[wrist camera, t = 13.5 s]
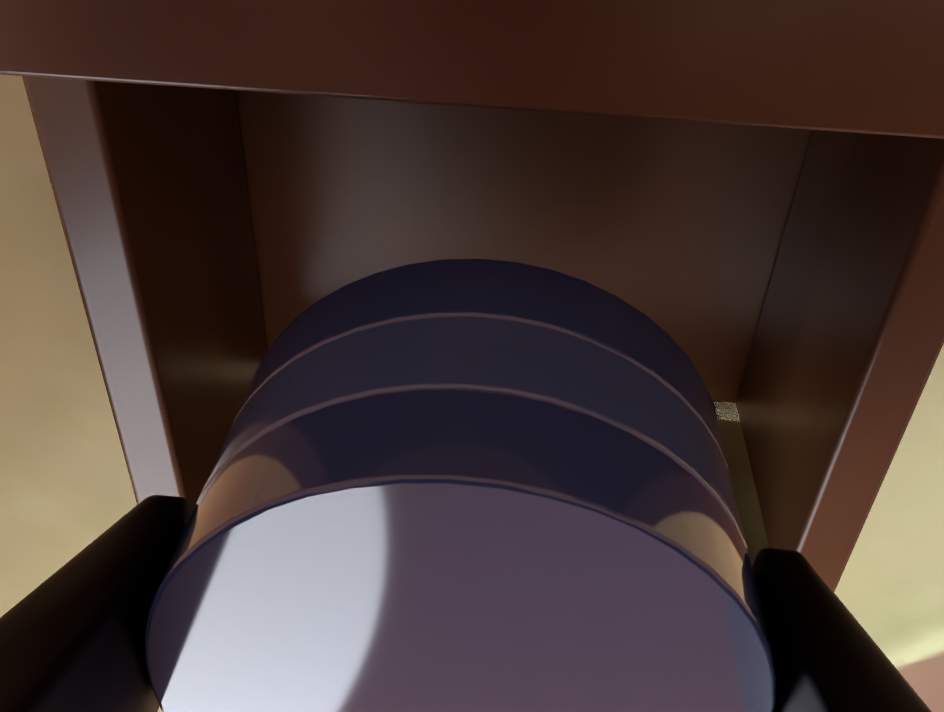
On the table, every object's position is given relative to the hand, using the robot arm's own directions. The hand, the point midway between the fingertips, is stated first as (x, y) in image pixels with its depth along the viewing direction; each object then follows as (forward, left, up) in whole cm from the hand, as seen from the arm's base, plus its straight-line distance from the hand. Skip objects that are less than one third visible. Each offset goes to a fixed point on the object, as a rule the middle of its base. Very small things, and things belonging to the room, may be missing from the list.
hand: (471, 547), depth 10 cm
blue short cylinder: (0, 0, -2) cm, 2 cm away
